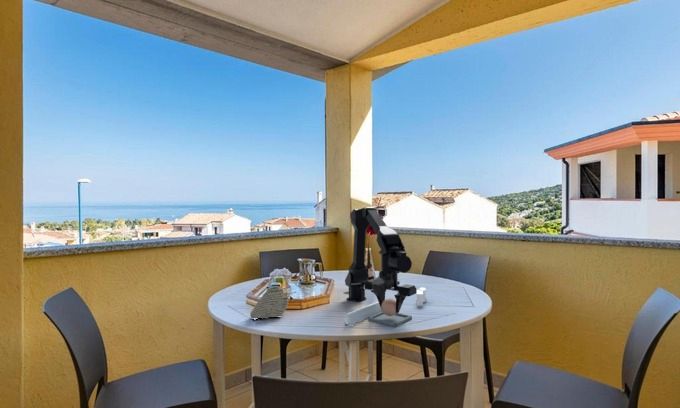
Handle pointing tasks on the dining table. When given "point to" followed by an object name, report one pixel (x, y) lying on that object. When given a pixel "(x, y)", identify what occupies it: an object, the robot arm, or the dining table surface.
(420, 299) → the napkin holder
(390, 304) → the ball
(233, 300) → the dining table surface
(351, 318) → the acrylic wall
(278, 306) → the fossil tooth
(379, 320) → the coaster
